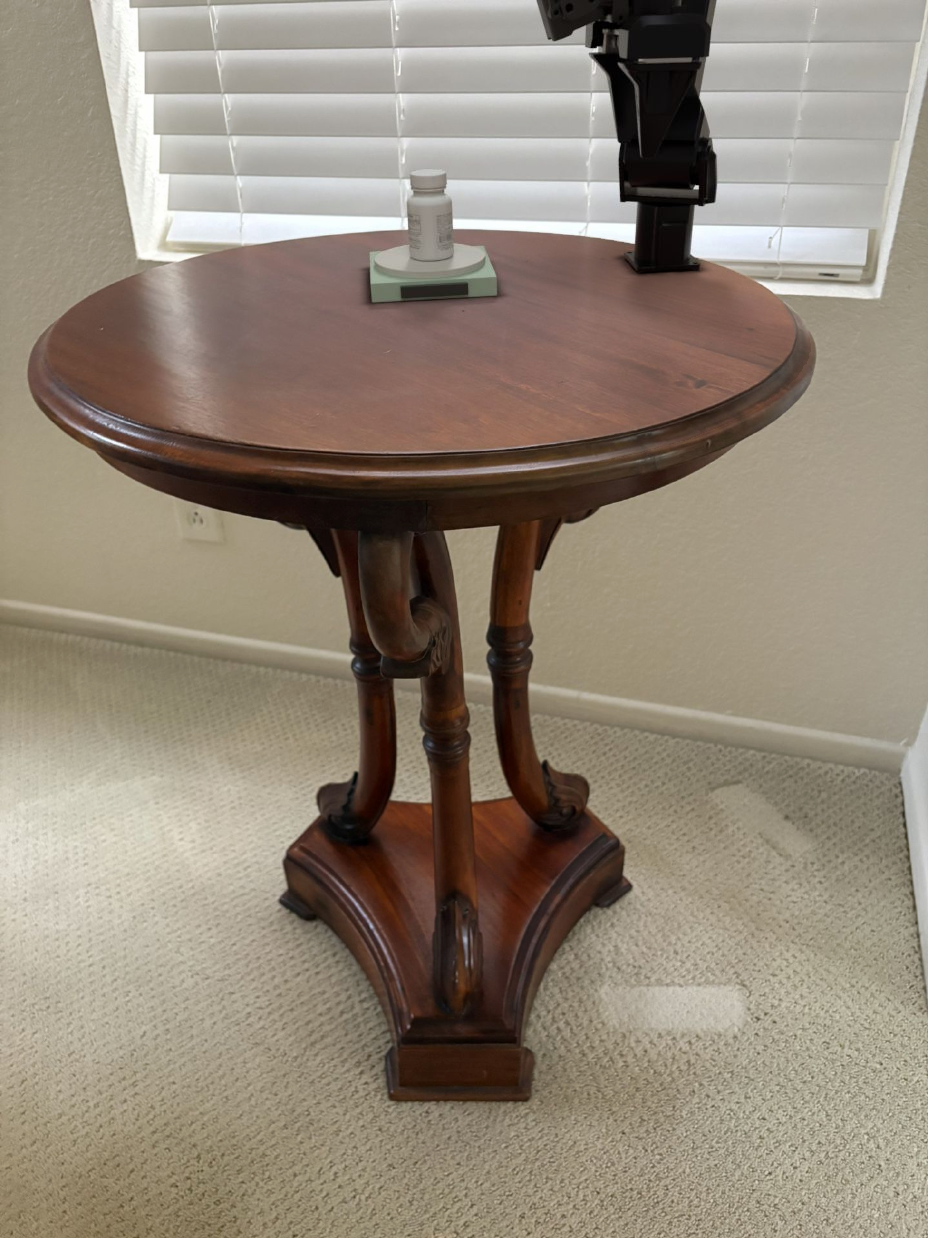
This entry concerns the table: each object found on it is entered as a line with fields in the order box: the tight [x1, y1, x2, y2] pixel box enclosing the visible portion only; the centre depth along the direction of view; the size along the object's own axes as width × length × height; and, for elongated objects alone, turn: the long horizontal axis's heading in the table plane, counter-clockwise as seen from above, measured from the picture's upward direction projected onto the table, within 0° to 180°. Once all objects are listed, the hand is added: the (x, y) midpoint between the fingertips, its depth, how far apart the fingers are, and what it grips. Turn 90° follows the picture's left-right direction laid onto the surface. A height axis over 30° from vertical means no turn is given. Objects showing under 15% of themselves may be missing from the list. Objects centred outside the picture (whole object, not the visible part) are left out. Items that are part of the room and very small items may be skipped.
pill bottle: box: [406, 168, 455, 261], centre depth 97 cm, size 4×4×8 cm
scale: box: [369, 242, 498, 303], centre depth 100 cm, size 12×12×2 cm
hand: (635, 149), depth 86 cm, fingers open, 9 cm apart
